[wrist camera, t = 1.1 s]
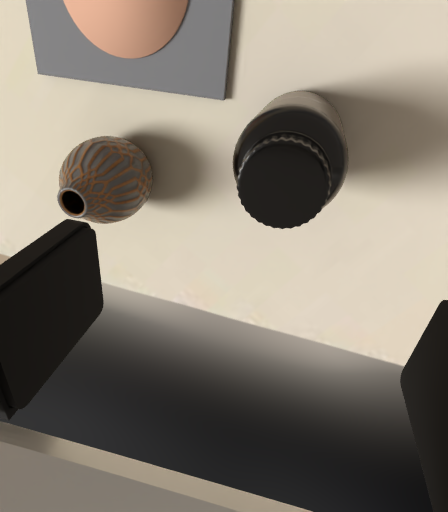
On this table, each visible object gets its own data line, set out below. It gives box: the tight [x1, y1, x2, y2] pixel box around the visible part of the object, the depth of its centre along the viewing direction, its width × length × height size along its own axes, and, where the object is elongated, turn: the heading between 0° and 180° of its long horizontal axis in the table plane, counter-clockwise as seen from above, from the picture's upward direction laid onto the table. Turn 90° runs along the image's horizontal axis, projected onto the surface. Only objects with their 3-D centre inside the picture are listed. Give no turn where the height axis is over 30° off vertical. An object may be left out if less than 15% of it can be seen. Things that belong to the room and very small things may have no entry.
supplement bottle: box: [233, 91, 348, 229], centre depth 23 cm, size 7×7×12 cm
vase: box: [58, 136, 152, 224], centre depth 29 cm, size 7×7×9 cm
